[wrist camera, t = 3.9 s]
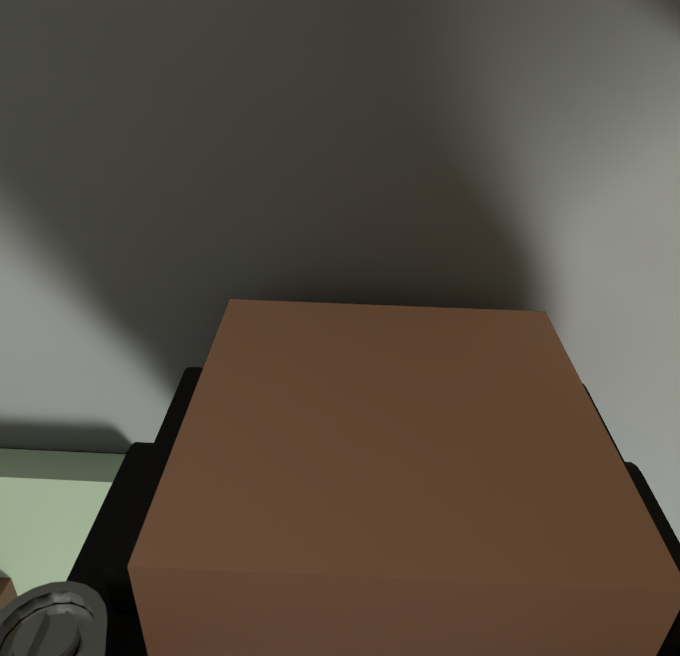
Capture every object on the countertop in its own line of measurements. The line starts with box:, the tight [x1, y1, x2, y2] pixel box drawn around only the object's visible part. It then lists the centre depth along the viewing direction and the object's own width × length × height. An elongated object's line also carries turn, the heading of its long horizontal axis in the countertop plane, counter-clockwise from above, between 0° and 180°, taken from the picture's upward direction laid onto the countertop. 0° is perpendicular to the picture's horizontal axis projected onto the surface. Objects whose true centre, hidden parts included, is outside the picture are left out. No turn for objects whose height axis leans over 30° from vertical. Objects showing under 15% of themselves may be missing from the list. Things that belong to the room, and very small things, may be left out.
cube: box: [127, 299, 680, 656], centre depth 9 cm, size 5×5×5 cm
